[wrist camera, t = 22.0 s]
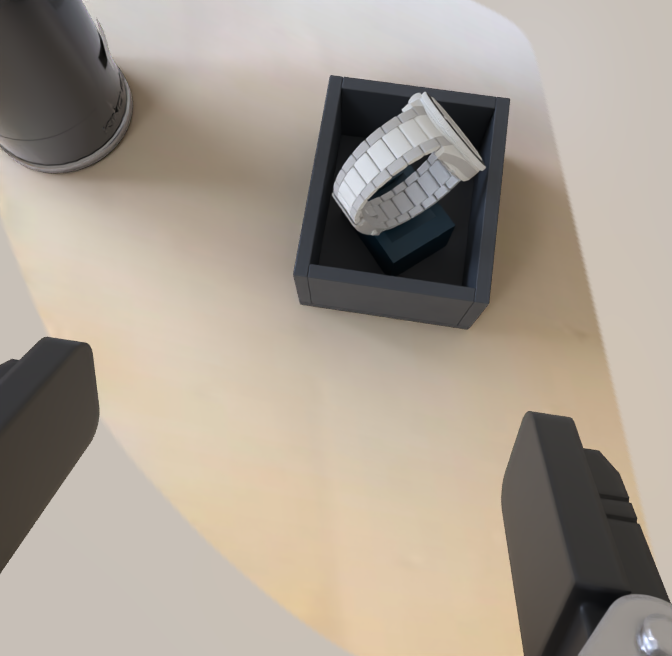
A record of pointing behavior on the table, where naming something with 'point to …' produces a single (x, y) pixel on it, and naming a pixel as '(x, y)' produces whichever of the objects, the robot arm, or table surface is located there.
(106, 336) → the table surface
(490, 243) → the box
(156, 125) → the table surface
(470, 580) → the table surface
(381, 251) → the watch
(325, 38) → the table surface
